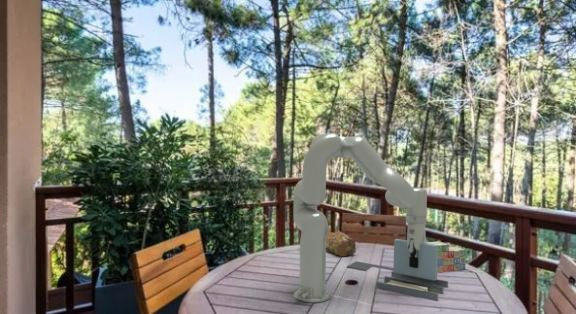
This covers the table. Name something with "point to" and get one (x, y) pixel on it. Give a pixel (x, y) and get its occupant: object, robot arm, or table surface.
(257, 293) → the table surface
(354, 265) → the mat
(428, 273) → the panel
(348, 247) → the petrified wood
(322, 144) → the robot arm
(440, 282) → the rack
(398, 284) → the offcut upper
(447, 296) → the table surface
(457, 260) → the stack of blocks
